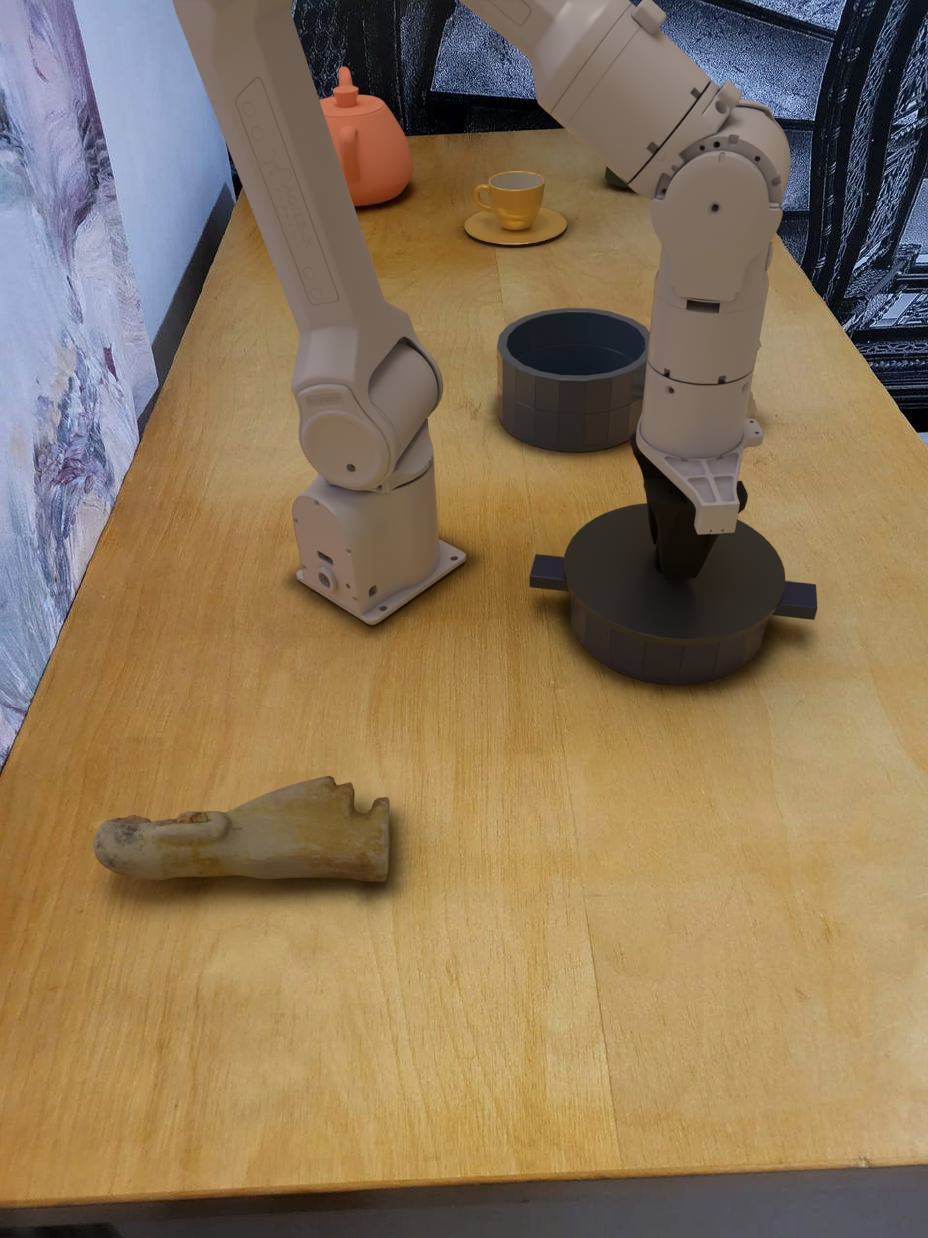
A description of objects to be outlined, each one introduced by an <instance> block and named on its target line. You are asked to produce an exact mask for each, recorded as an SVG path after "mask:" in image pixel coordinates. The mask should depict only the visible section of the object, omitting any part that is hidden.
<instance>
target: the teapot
mask: <svg viewBox="0 0 928 1238" xmlns="http://www.w3.org/2000/svg"><path fill="white" fill-rule="evenodd" d="M349 69H350V68H348V67H347V66H340V68H339V69H338V86H336V87H334V88H333V89H332V94H333V96H328V97H325V98H321V99H319V100H320V104H321V107H322V110H323V113H324V116H325V119H326V122H327V125H328V128H329V131H330V134H331V137H332V140H333V143H334V146H335V149H336V152H337V156H338V159H339V162H340V165H341V168H342V171H343V174H344V177H345V180H346V183H347V186H348V189H349V192H350V195H351V198H352V201H353V205H354V207H364V206H371V205H376V204H381V203H385V202H387V201H391V200H393V199H394V198H396V197H398V196H399V195H400V194H402V192H404V189H405V188H406V187H407V185H408V184H409V183H410V181H411V179H412V176H413V173H414V160H413V157H412V152H411V147H410V145H409V142H408V139H407V136H406V134H405V132H404V131H403V129H402V127H401V125H400V124H399V123H400V122H398V119H397V118H396V117H395V115H394V114H393V112H392V111H391V109H390V108H389V107H388V105H387V104H386V103H385V101H384V100H382V99H381V98H379V97H377V96H374V95H368V94H359V87H357V86H355V85H354V84H353V79H352V75H351V71H350V70H349Z"/></svg>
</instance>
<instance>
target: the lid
mask: <svg viewBox="0 0 928 1238" xmlns="http://www.w3.org/2000/svg"><path fill="white" fill-rule="evenodd" d="M563 557H564V566H563V568H564V578H565V581H566V584H567V587H568V589H569V591H570V592H569V593H570V596H571V595H572V596H573V598H574V599H575V600H576V602H577V603H578V604H579V605H580V606H581V607H582V608H583V609H584V610H585V611H586V612H587V613H588V614H590V615H591V616H592V617H593V618H595V619H596V620H598V621H599V622H601V623H602V624H604V625H606V626H607V627H609V628H612V629H614V630H616V631H618V632H620V633H623V634H626V635H628V636H631V637H634V638H638V639H641V640H645V641H649V642H655V643H661V644H670V645H702V644H711V643H716V642H721V641H726V640H729V639H732V638H735V637H738V636H741V635H743V634H745V633H747V632H750V631H751V630H753V629H755V628H756V627H758V626H760V625H761V624H762V623H763V622H765V621H766V620H767V619H768V620H769V619H770V618H771V616H773V615H772V614H773V612H774V611H775V610H776V609H777V607H778V605H779V603H780V602H781V599H782V596H783V593H784V589H785V581H786V572H785V566H784V563H783V560H782V559H781V557H780V555H779V554H778V551H777V550H776V548H775V547H774V546H773V545H772V543H771V542H770V541H769V540H768V539H767V538H765V536H764V535H762V534H761V533H760V532H759V531H757V530H756V529H755V528H753V527H752V526H750V525H749V524H747V523H745V522H744V521H742V520H740V519H738V518H737V522H736V528H735V532H734V533H723V534H720V535H719V536H718V538H717V539H716V541H715V543H714V544H713V546H712V548H711V550H710V552H709V554H708V556H707V558H706V561H705V563H704V565H703V567H702V568H701V570H700V572H699V574H698V576H697V577H696V578H685V579H665V578H664V576H663V572H662V569H661V564H660V558H659V538H658V533H657V541H656V545H654V543H653V539H652V536H651V532H650V527H649V519H648V510H647V502H645V503H643V502H642V503H635V504H630V505H625V506H623V507H619V508H615V509H612V510H609V511H606V512H604V513H602V514H600V515H598V516H596V517H595V518H593V519H591V520H590V521H588V522H587V523H585V524H584V525H583V526H582V527H581V528H579V529H578V531H576V533H575V534H574V535H573V536H572V537H571V539H570V540H569V543H568V544H567V546H566V549H565V552H564V556H563ZM768 620H767V621H768Z"/></svg>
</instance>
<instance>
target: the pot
mask: <svg viewBox="0 0 928 1238" xmlns="http://www.w3.org/2000/svg"><path fill="white" fill-rule="evenodd" d="M649 335H650V329H648V328H647V326H646V325H643V324H642V323H641V322H639V321H638V320H635V319H633V318H631V317H628V316H626V315H623V314H619V313H617V312H614V311H611V310H603V309H599V308H591V307H590V308H589V307H563V308H554V309H545V310H541V311H537V312H534V313H531V314H527V315H523V316H522V317H520V318H518V319H517V320H515V321H513V322H510V323H509V324H508V325H507V326H506V327H504V329H503V330H502V331H501V332H500V334H498V337H497V343H496V380H497V381H496V383H497V384H496V385H497V386H496V387H497V412H498V418H499V422H500V423H501V425H502V427H503V428H504V430H506V432H508V433H509V434H510V435H511V436H513V437H514V438H516V439H517V440H520V441H521V442H523V443H526V444H528V445H531V446H534V447H537V448H540V449H543V450H549V451H554V452H555V451H556V452H563V453H564V452H565V453H566V452H567V453H583V452H584V453H585V452H594V451H600V450H606V449H610V448H613V447H616V446H619V445H621V444H623V443H625V442H628V441H629V440H630V437H631V435H632V434H634V433H636V432H637V425H638V422H639V419H640V416H641V413H642V407H643V397H644V386H645V375H646V364H647V356H648V346H649Z"/></svg>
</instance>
